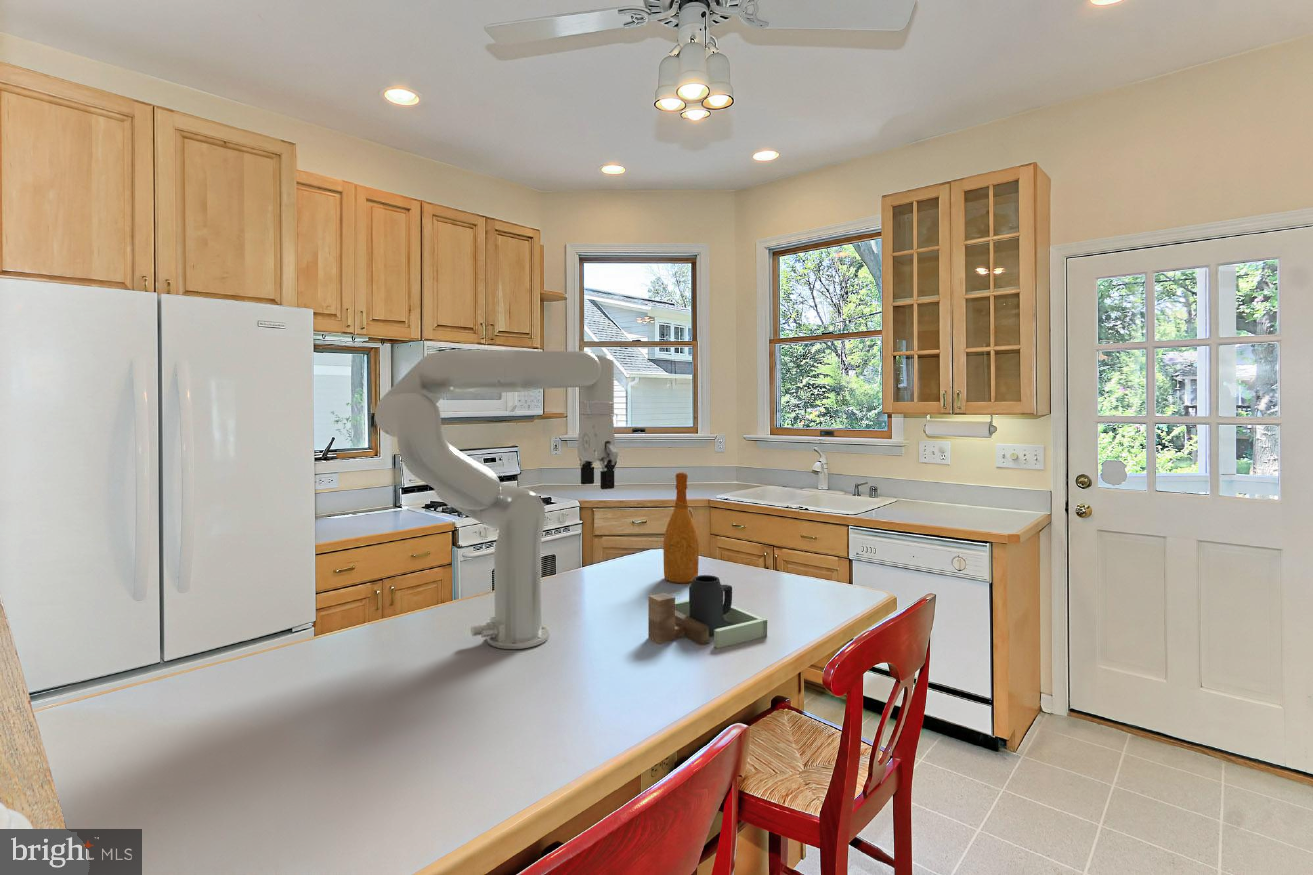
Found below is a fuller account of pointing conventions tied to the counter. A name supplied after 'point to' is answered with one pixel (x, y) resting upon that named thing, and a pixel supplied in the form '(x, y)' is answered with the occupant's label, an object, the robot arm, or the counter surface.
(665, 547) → the wine bottle
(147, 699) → the counter surface
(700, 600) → the mug
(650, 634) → the wooden cross block
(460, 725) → the counter surface
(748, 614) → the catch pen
